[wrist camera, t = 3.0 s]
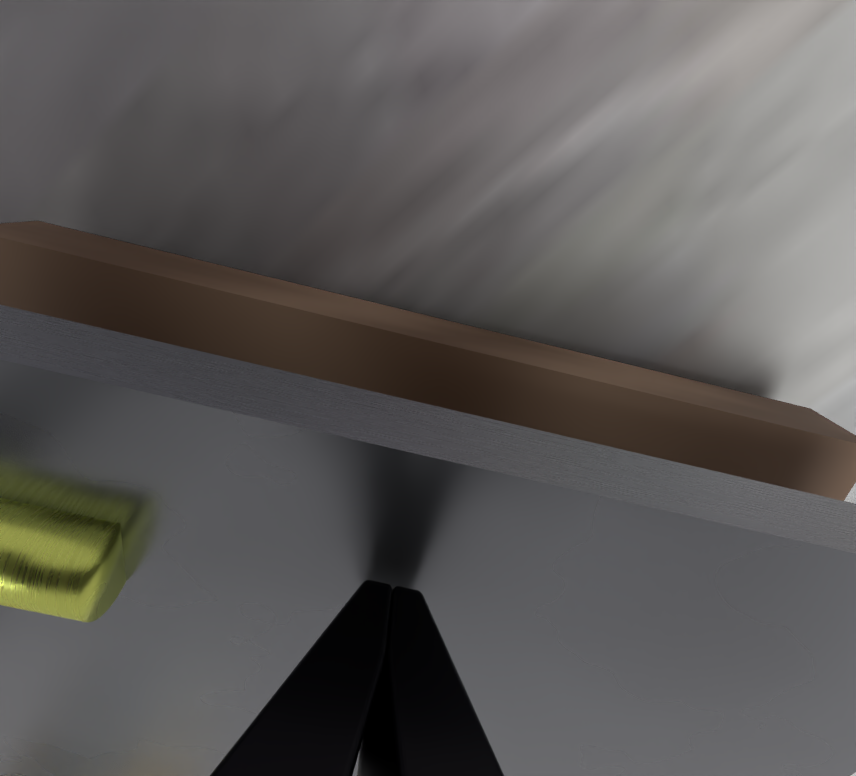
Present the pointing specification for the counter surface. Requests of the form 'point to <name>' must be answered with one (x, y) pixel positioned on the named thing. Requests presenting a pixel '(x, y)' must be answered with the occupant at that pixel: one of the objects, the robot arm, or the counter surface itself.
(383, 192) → the counter surface
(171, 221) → the counter surface
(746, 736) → the levelling plate
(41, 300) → the brown wooden board
